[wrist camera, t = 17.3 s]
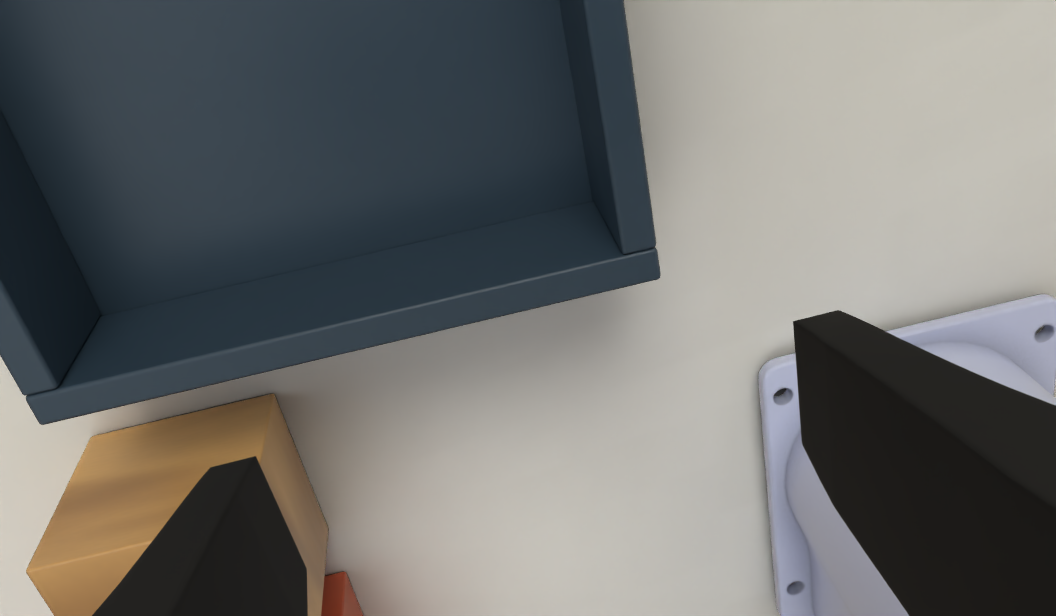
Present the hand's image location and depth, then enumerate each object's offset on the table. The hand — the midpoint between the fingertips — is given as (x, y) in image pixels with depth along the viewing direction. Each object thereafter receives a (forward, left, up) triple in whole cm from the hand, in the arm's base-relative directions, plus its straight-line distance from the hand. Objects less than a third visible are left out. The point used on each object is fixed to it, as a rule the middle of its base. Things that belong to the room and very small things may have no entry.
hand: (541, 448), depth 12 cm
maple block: (-6, +8, -9) cm, 14 cm away
